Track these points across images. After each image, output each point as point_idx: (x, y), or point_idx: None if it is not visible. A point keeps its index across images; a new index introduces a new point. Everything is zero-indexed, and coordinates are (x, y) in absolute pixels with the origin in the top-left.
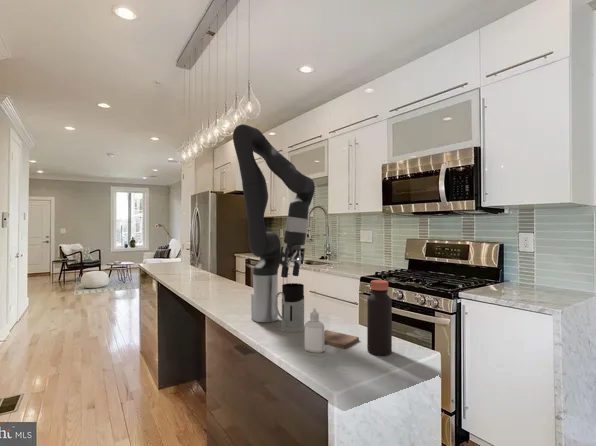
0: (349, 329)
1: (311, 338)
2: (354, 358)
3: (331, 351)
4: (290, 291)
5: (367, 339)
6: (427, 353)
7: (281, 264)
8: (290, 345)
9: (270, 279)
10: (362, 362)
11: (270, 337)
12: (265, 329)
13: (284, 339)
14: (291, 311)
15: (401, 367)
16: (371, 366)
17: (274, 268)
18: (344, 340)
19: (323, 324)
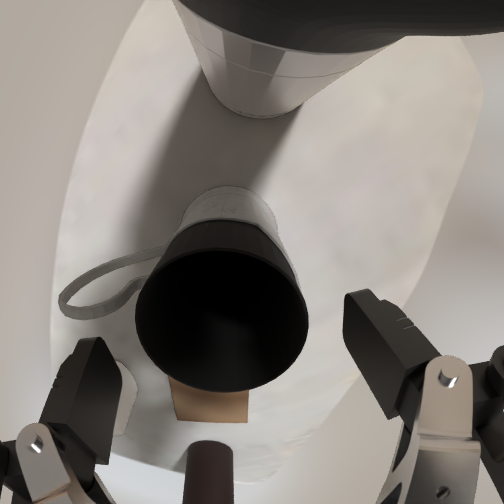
0: (318, 373)
1: None
2: (151, 433)
3: (145, 401)
4: (154, 337)
5: (195, 458)
6: (253, 480)
7: (10, 443)
8: (101, 321)
9: (234, 51)
10: (147, 443)
11: (103, 236)
12: (152, 160)
13: (119, 282)
14: (179, 286)
15: (175, 471)
16: (146, 451)
17: (323, 15)
18: (203, 412)
19: (118, 435)
